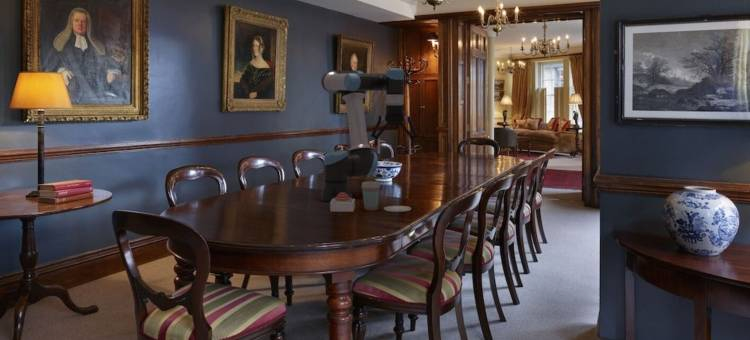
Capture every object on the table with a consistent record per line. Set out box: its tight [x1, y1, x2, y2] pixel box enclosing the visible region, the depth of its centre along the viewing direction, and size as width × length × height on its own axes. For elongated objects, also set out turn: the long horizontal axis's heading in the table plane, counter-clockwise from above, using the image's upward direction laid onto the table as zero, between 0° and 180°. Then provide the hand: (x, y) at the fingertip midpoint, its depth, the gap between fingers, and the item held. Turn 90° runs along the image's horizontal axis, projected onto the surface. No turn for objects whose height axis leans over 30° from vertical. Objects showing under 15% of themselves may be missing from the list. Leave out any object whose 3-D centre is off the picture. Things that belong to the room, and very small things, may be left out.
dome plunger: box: [333, 192, 353, 202], centre depth 251 cm, size 8×8×5 cm
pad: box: [383, 205, 412, 213], centre depth 251 cm, size 12×12×1 cm
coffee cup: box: [360, 180, 381, 211], centre depth 251 cm, size 8×8×12 cm
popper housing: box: [329, 198, 356, 213], centre depth 251 cm, size 10×10×4 cm
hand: (394, 153), depth 248 cm, fingers open, 13 cm apart
